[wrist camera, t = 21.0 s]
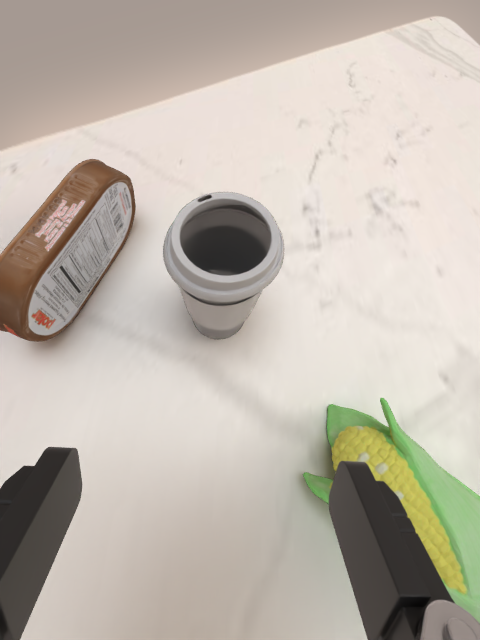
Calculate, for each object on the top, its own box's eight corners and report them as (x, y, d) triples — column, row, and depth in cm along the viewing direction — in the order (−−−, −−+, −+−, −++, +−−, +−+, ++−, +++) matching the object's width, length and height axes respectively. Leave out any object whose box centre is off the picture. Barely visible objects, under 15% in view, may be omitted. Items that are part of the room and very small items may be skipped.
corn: (542, 813, 16) (269, 479, 21) (488, 652, 24) (295, 433, 28) (723, 761, 14) (370, 397, 18) (599, 601, 22) (369, 370, 26)
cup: (236, 268, 31) (253, 170, 20) (271, 329, 29) (312, 258, 18) (165, 299, 29) (139, 210, 18) (198, 365, 27) (193, 312, 16)
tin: (119, 207, 32) (91, 130, 24) (149, 219, 32) (130, 146, 24) (23, 343, 27) (-53, 302, 19) (58, 359, 27) (-4, 323, 19)
